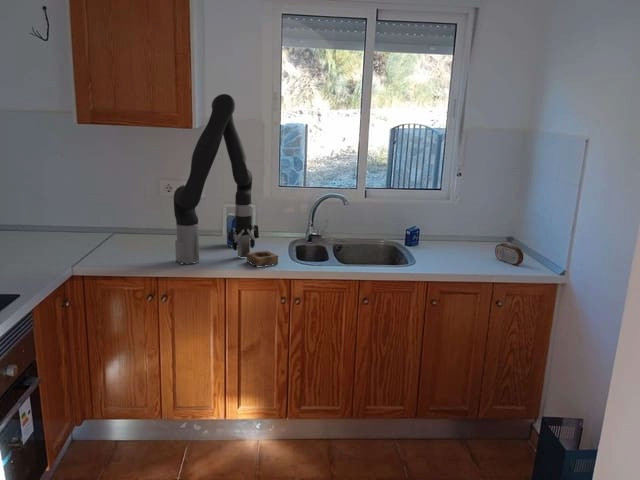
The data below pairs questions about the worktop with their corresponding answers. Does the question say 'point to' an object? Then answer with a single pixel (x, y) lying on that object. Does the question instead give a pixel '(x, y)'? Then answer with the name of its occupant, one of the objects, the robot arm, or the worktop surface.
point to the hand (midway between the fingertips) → (243, 248)
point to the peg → (244, 245)
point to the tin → (509, 254)
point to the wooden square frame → (262, 258)
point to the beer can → (231, 226)
